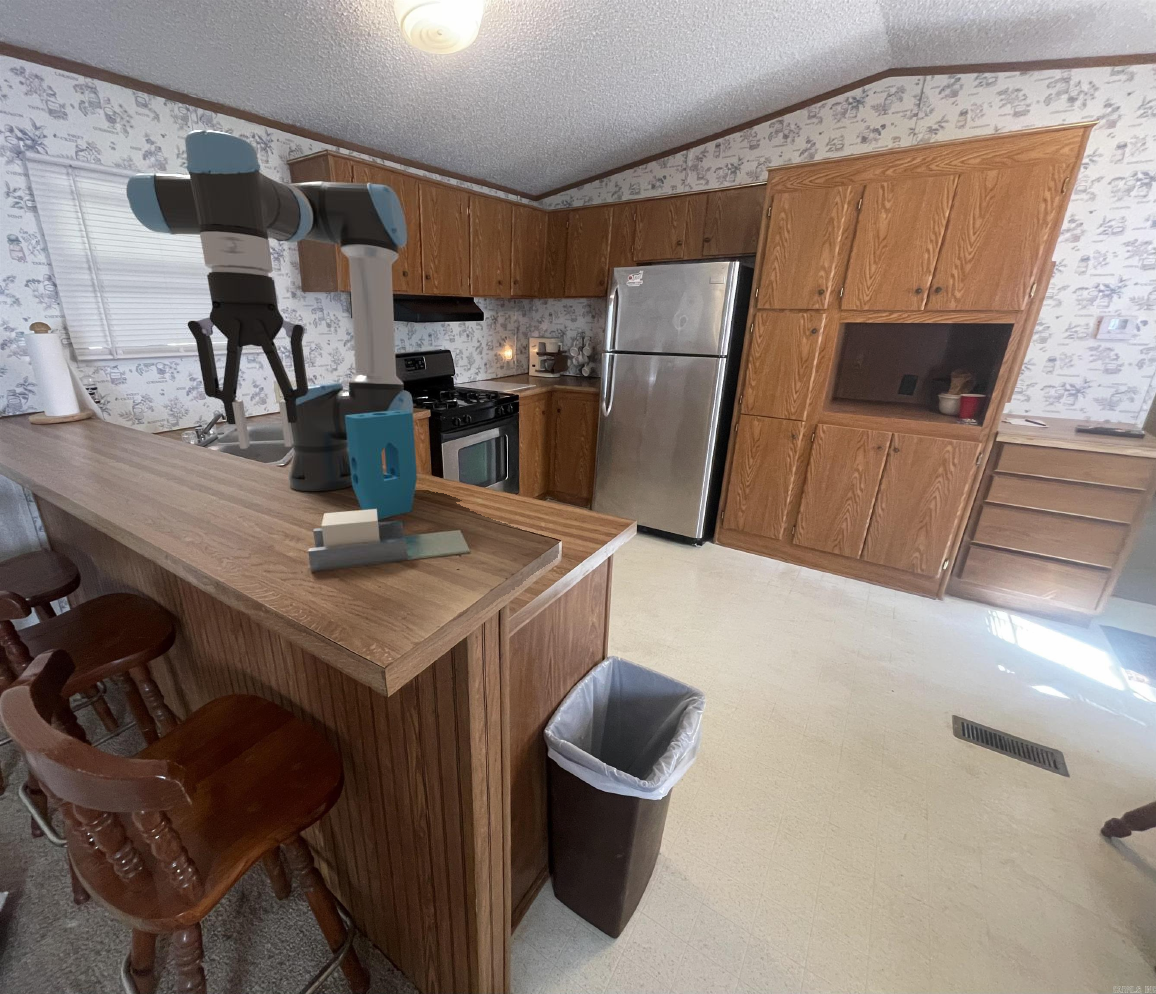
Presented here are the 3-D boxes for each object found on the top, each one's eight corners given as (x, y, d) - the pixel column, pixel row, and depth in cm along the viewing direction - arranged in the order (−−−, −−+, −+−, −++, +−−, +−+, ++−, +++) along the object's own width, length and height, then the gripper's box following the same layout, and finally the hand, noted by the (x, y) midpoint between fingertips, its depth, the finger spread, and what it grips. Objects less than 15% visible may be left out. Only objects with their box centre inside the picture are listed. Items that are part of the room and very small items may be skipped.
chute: (316, 547, 86) (313, 528, 85) (460, 532, 94) (459, 514, 93) (311, 571, 77) (308, 551, 76) (469, 552, 86) (469, 533, 85)
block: (366, 522, 97) (356, 418, 91) (353, 516, 100) (342, 415, 94) (420, 508, 106) (414, 412, 100) (407, 503, 109) (400, 409, 103)
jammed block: (328, 547, 84) (324, 513, 83) (379, 541, 87) (376, 508, 86) (326, 561, 79) (321, 525, 77) (380, 555, 82) (377, 520, 80)
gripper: (146, 264, 61) (185, 454, 68) (314, 275, 67) (333, 448, 74) (167, 270, 67) (201, 443, 74) (318, 280, 74) (336, 438, 81)
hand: (267, 445), depth 74 cm, fingers open, 5 cm apart
